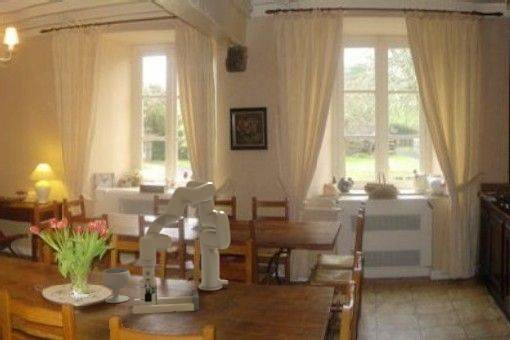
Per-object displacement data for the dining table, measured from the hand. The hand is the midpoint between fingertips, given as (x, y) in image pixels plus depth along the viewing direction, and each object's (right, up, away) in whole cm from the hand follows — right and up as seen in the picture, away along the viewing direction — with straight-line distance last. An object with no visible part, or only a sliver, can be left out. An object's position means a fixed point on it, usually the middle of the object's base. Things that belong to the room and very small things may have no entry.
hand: (148, 298), depth 264 cm
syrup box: (0, -5, 0) cm, 5 cm away
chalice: (-18, -4, +13) cm, 23 cm away
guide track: (+8, -5, +2) cm, 9 cm away
